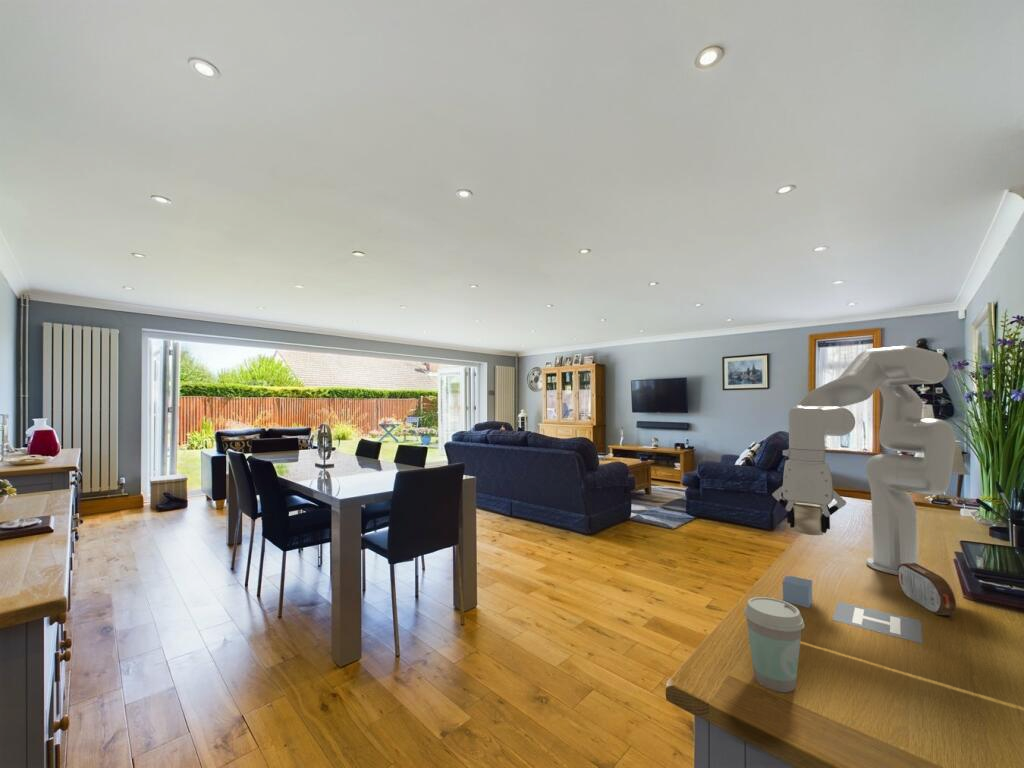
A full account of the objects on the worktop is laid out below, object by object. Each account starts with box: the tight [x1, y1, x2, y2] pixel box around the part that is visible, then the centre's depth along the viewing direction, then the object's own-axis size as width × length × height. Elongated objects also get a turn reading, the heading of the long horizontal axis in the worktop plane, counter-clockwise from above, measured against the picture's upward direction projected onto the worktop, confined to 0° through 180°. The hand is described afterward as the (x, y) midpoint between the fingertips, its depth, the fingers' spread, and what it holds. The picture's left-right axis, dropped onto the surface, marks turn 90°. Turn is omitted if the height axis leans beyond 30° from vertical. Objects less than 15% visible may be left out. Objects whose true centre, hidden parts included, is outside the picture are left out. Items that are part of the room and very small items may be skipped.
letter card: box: [832, 600, 924, 644], centre depth 93 cm, size 12×14×1 cm
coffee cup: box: [743, 596, 805, 693], centre depth 73 cm, size 8×9×12 cm
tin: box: [897, 563, 957, 617], centre depth 101 cm, size 15×3×8 cm, turn 168°
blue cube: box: [782, 574, 813, 609], centre depth 103 cm, size 5×5×5 cm
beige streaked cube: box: [793, 502, 824, 536], centre depth 111 cm, size 6×6×6 cm
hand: (808, 528), depth 111 cm, fingers closed on beige streaked cube, 6 cm apart
